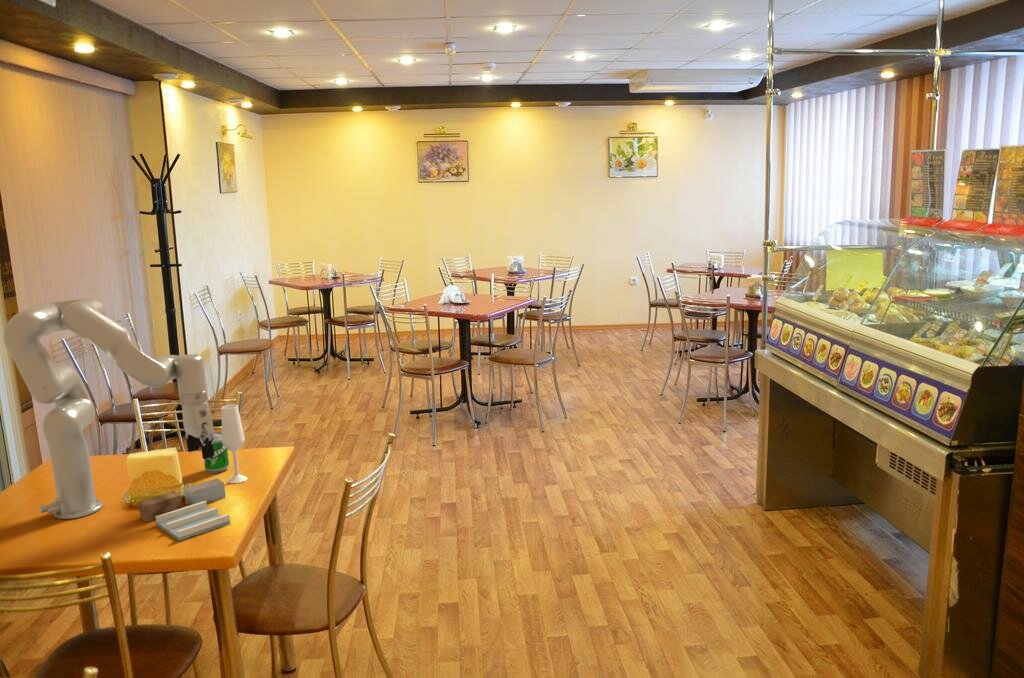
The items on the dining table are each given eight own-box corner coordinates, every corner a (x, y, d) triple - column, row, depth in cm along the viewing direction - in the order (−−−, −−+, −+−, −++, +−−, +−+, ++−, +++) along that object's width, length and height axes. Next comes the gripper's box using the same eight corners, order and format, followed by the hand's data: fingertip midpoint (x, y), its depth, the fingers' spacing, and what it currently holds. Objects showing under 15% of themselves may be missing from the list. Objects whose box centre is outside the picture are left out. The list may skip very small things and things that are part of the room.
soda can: (206, 467, 262) (202, 432, 260) (230, 464, 264) (226, 430, 262) (203, 475, 255) (199, 439, 253) (228, 472, 257) (224, 437, 254)
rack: (179, 541, 208) (178, 532, 207) (156, 525, 218) (155, 516, 218) (230, 523, 218) (229, 514, 217) (205, 509, 228) (204, 500, 227)
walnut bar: (146, 523, 221) (144, 506, 220) (140, 518, 224) (138, 501, 223) (182, 511, 227) (180, 495, 226) (175, 507, 231) (173, 491, 230)
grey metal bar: (192, 508, 230) (190, 492, 229) (186, 503, 233) (184, 487, 232) (225, 498, 236) (223, 482, 235) (219, 494, 240) (217, 478, 239)
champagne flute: (229, 477, 253) (221, 404, 248) (251, 475, 253) (243, 403, 249) (223, 484, 246) (215, 410, 242) (246, 483, 247) (238, 409, 242)
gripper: (219, 399, 225) (226, 457, 228) (193, 390, 237) (200, 444, 240) (194, 405, 220) (201, 464, 223) (168, 395, 232) (175, 451, 235)
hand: (200, 454), depth 232 cm, fingers open, 9 cm apart
